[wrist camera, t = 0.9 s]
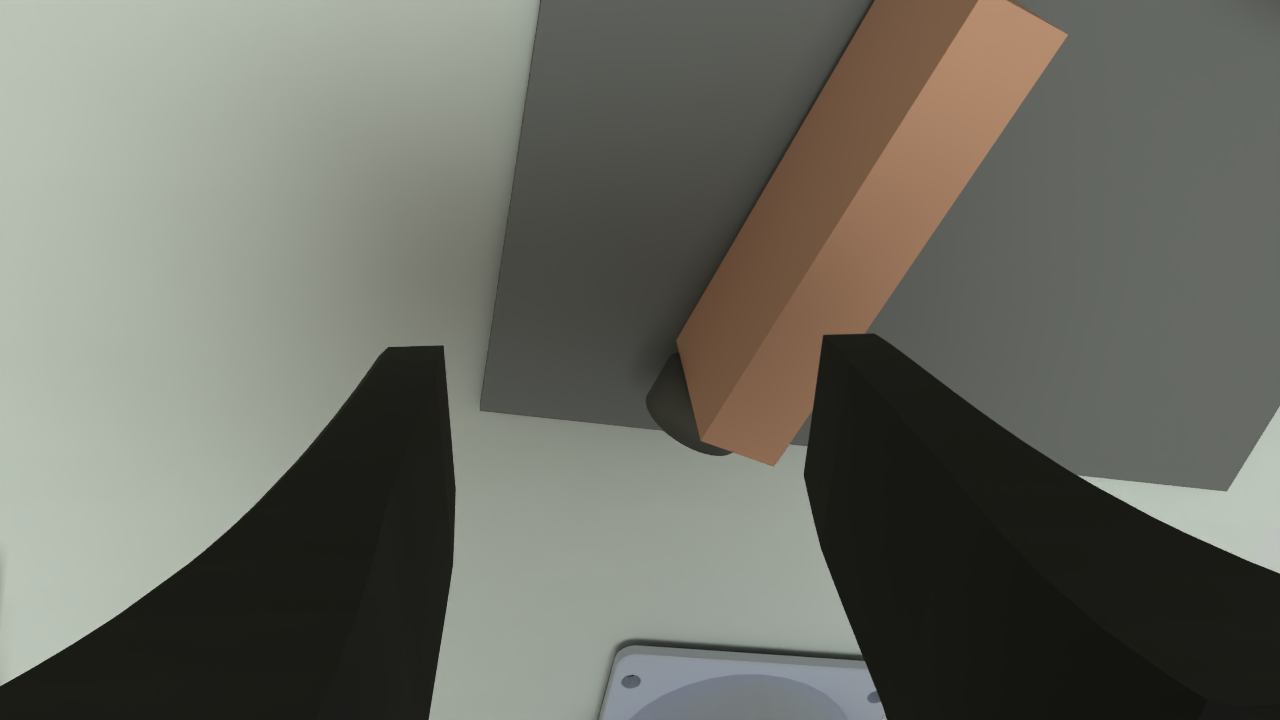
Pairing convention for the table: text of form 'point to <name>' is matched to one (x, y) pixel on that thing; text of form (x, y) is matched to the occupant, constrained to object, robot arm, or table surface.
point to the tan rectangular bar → (847, 214)
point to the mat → (959, 247)
